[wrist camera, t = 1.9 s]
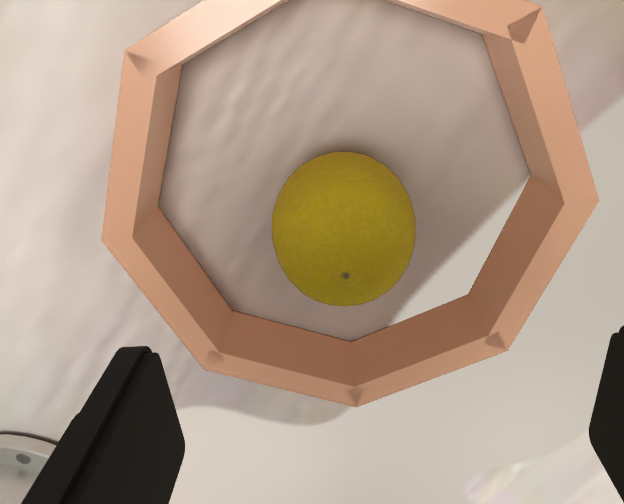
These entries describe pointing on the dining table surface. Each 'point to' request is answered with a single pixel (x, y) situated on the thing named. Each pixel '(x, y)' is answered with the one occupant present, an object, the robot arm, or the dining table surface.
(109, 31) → the dining table surface
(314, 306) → the dining table surface
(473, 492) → the dining table surface
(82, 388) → the dining table surface
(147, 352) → the robot arm
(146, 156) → the collar
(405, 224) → the lemon
